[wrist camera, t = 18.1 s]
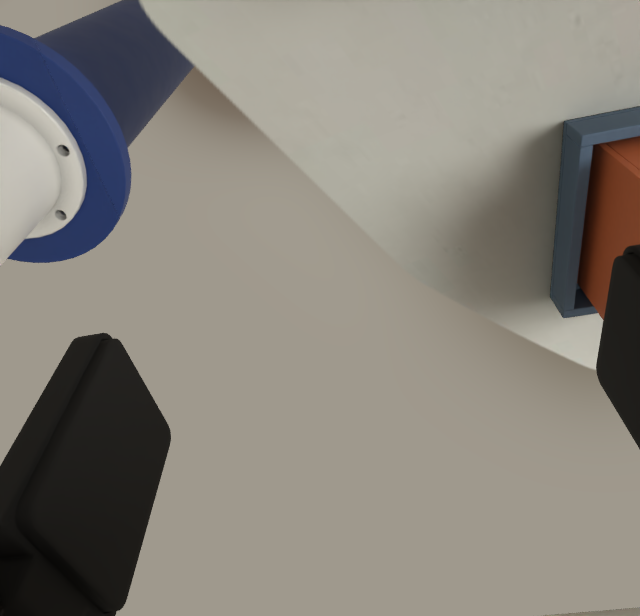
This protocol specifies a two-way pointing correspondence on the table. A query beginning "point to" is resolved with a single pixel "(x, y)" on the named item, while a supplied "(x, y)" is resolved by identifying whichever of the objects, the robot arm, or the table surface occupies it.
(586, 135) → the tray
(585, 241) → the inner bin
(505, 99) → the table surface
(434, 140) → the table surface
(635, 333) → the robot arm
